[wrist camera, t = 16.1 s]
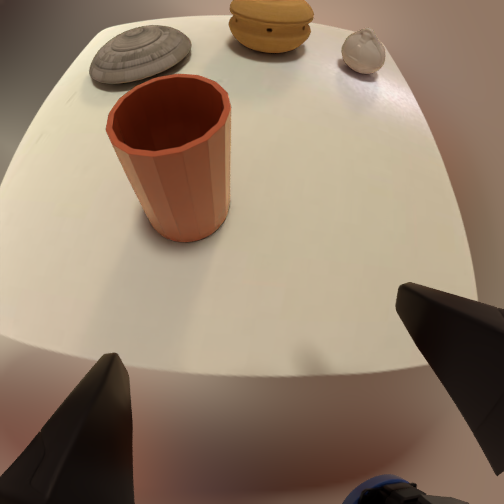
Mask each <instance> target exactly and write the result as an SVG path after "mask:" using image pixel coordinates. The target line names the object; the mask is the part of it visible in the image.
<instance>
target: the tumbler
mask: <svg viewBox="0 0 504 504" xmlns="http://www.w3.org/2000/svg"><path fill="white" fill-rule="evenodd" d="M106 132H107V134H108V137H109V139H110V141H111V143H112V145H113V148H114V150H115V152H116V154H117V156H118V159H119V161H120V163H121V165H122V167H123V169H124V171H125V173H126V175H127V177H128V179H129V182H130V184H131V186H132V188H133V190H134V192H135V194H136V196H137V198H138V200H139V202H140V204H141V205H142V207H143V209H144V211H145V213H146V215H147V217H148V219H149V221H150V223H151V225H152V226H153V228H154V229H155V230H156V231H157V232H158V233H159V234H160V235H162V236H163V237H165V238H167V239H170V240H173V241H177V242H193V241H197V240H200V239H203V238H205V237H207V236H209V235H210V234H212V233H213V232H215V231H216V230H217V229H218V228H219V227H220V226H221V225H222V223H223V222H224V220H225V218H226V216H227V214H228V210H229V203H230V154H231V104H230V100H229V96H228V93H227V92H226V91H225V90H224V89H223V88H222V87H221V86H220V85H219V84H218V83H217V82H215V81H213V80H210V79H207V78H205V77H202V76H199V75H190V74H173V75H167V76H161V77H156V78H154V79H151V80H149V81H146V82H144V83H142V84H139V85H137V86H135V87H134V88H133V89H131V90H130V91H129V92H127V93H126V94H125V95H123V96H122V97H121V98H120V99H119V100H118V101H117V103H116V104H115V105H114V107H113V108H112V110H111V111H110V113H109V115H108V120H107V125H106Z"/></svg>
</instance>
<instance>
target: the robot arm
mask: <svg viewBox="0 0 504 504" xmlns="http://www.w3.org/2000/svg"><path fill="white" fill-rule="evenodd" d="M396 311H397V313H398V315H399V317H400V318H401V320H402V322H403V324H404V325H405V327H406V329H407V330H408V332H409V334H410V336H411V337H412V339H413V341H414V343H415V344H416V346H417V347H418V349H419V350H420V352H421V353H422V355H423V356H424V358H425V359H426V360H427V362H428V363H429V365H430V366H431V368H432V369H433V371H434V372H435V374H436V375H437V377H438V378H439V380H440V381H441V383H442V384H443V385H444V387H445V388H446V390H447V392H448V393H449V395H450V396H451V398H452V400H453V401H454V403H455V404H456V406H457V407H458V409H459V411H460V412H461V414H462V416H463V417H464V419H465V421H466V422H467V424H468V425H469V427H470V429H471V431H472V432H473V433H474V436H475V438H476V439H477V441H478V443H479V445H480V446H481V448H482V450H483V452H484V454H485V456H486V457H487V459H488V461H489V463H490V465H491V467H492V469H493V471H494V472H495V474H496V475H497V476H498V475H499V474H501V473H502V472H503V471H504V309H501V308H497V307H494V306H491V305H487V304H484V303H481V302H477V301H474V300H470V299H467V298H464V297H460V296H457V295H453V294H450V293H446V292H443V291H440V290H436V289H433V288H429V287H426V286H422V285H419V284H415V283H412V282H408V283H405V284H402V285H400V286H399V288H398V293H397V299H396ZM132 430H133V427H132V410H131V397H130V383H129V375H128V372H127V370H126V368H125V366H124V364H123V362H122V361H121V359H120V357H119V355H118V354H117V353H108V354H104V355H103V356H102V357H101V358H100V359H99V360H98V361H97V363H96V364H95V365H94V366H93V367H92V368H91V370H90V371H89V372H88V373H87V374H86V375H85V377H84V378H83V379H82V380H81V381H80V383H79V384H78V385H77V386H76V387H75V388H74V390H73V391H72V392H71V393H70V394H69V396H68V397H67V398H66V399H65V400H64V402H63V403H62V404H61V405H60V407H59V408H58V409H57V410H56V411H55V413H54V414H53V415H52V416H51V418H50V419H49V420H48V421H47V423H46V424H45V425H44V426H43V428H42V429H41V432H39V433H38V434H37V435H36V436H35V438H34V439H33V440H32V441H31V443H30V444H29V445H28V446H27V447H26V449H25V450H24V451H23V452H22V453H21V455H20V456H19V457H18V458H17V459H16V460H15V461H14V463H12V465H11V466H10V467H9V468H8V469H7V470H6V471H5V472H4V473H3V474H2V475H1V476H0V504H135V503H134V486H133V456H132ZM366 492H368V493H367V494H366V495H365V493H366ZM357 504H469V503H468V502H464V501H461V500H458V499H455V498H452V497H441V496H431V495H426V493H424V492H422V491H420V490H419V489H417V484H416V483H406V482H403V483H396V484H388V485H384V486H383V487H376V488H366V489H364V490H363V491H362V492H361V495H360V498H359V500H358V503H357Z"/></svg>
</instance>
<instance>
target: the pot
mask: <svg viewBox="0 0 504 504" xmlns="http://www.w3.org/2000/svg"><path fill="white" fill-rule="evenodd" d="M230 12H231V13H232V14H233V17H231V19H230V21H229V27H230V30H231V32H232V34H233V35H234V37H235V38H236V39H237V40H238V41H239V42H240V43H241V44H243V45H244V46H246V47H248V48H250V49H253V50H256V51H261V52H268V53H281V52H287V51H291V50H293V49H295V48H297V47H299V46H300V45H301V44H302V43H304V42H305V41H306V40H307V39H308V37H309V35H310V33H311V30H310V26H309V25H308V24H309V23H310V22H311V21H312V20H313V15H314V13H313V10H312V8H311V7H310V6H309V4H308V3H307V2H306V1H305V0H233V1H232V2H231V4H230Z"/></svg>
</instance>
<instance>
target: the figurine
mask: <svg viewBox="0 0 504 504" xmlns="http://www.w3.org/2000/svg"><path fill="white" fill-rule="evenodd" d="M341 51H342V57H343V59H344V61H345V63H346V64H347V65H348V66H349V67H350V68H351V69H353V70H354V71H356V72H359V73H363V74H371V73H374V72H376V71H378V70H379V69H380V68H381V67H382V66H383V65H384V61H385V49H384V46H383V45H382V43H381V42H380V41H379V40H378V38H377V36H376V35H375V32H374V30H373V29H371V28H369V27H368V28H365V29H361V30H360V31H357V32H355V33H353V34H351V35H350V36H348V37H347V38H346V40H345V42H344V44H343V46H342V50H341Z"/></svg>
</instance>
